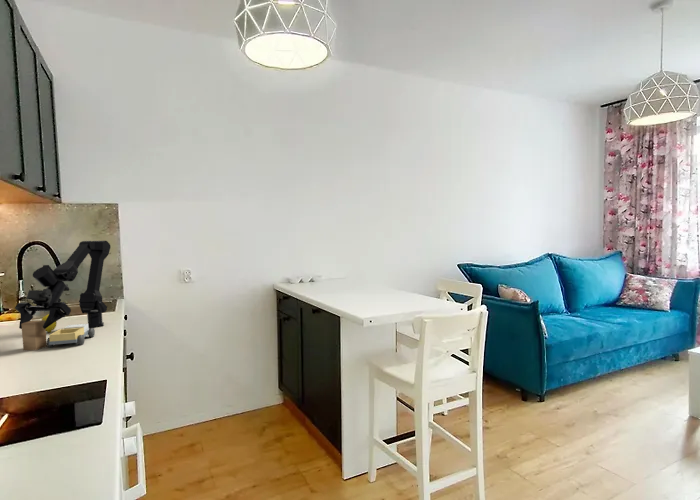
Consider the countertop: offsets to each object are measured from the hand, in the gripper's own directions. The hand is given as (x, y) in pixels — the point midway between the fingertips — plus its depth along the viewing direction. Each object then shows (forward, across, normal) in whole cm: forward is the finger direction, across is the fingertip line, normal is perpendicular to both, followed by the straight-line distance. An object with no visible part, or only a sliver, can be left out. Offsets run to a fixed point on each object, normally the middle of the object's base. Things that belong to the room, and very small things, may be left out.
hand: (32, 328), depth 158 cm
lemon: (-11, -13, +22) cm, 28 cm away
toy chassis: (-1, +8, +12) cm, 14 cm away
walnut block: (+5, 0, +6) cm, 8 cm away
